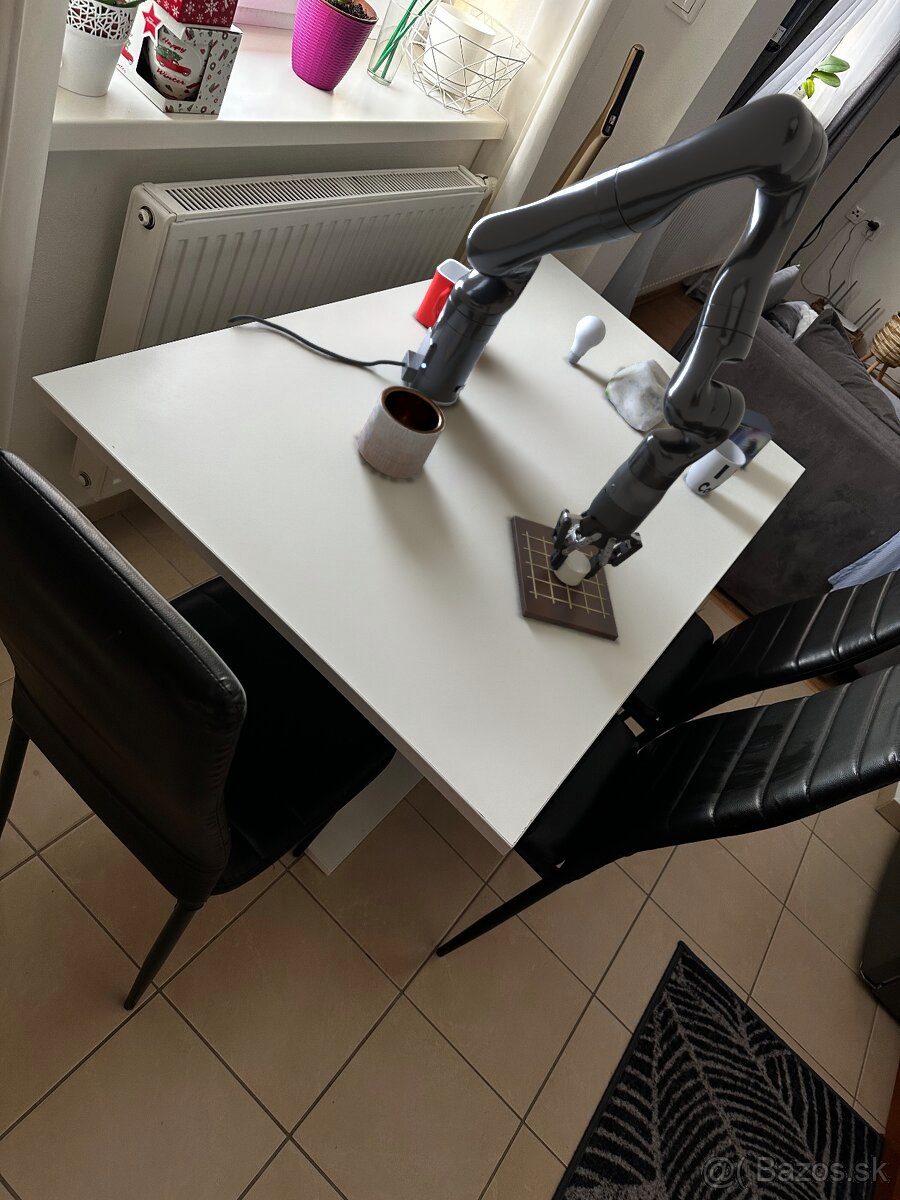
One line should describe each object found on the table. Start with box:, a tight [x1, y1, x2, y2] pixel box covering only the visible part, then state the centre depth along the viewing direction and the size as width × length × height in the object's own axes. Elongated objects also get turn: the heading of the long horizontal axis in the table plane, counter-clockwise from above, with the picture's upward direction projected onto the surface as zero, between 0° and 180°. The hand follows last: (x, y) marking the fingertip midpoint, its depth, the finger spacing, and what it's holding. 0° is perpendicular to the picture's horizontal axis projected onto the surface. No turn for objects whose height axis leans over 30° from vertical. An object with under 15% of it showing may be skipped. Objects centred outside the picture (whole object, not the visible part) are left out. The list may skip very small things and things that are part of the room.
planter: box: [357, 385, 446, 479], centre depth 131 cm, size 11×11×10 cm
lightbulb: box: [566, 315, 607, 364], centre depth 177 cm, size 6×6×11 cm
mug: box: [415, 258, 471, 329], centre depth 162 cm, size 12×8×11 cm
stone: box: [604, 358, 671, 432], centre depth 183 cm, size 28×7×15 cm
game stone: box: [554, 550, 591, 585], centre depth 132 cm, size 5×5×3 cm
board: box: [510, 515, 619, 642], centre depth 133 cm, size 16×20×1 cm
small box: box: [728, 407, 777, 470], centre depth 181 cm, size 11×6×10 cm, turn 99°
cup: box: [685, 439, 746, 496], centre depth 168 cm, size 8×8×10 cm
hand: (568, 570), depth 132 cm, fingers closed on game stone, 5 cm apart
